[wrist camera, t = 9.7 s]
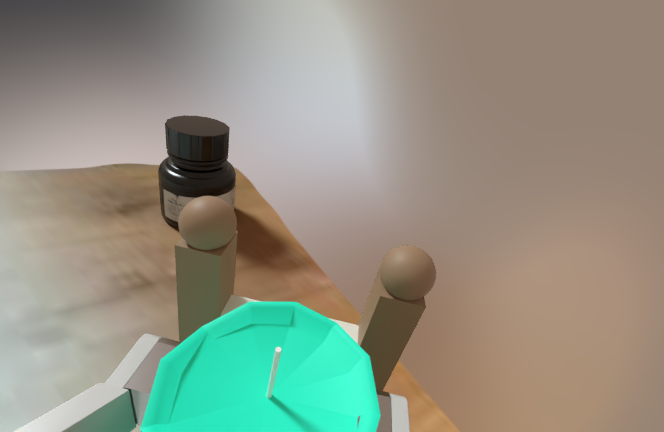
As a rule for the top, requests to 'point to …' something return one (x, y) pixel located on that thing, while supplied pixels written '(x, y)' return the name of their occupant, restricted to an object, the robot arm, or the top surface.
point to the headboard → (217, 300)
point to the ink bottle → (195, 164)
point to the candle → (265, 376)
